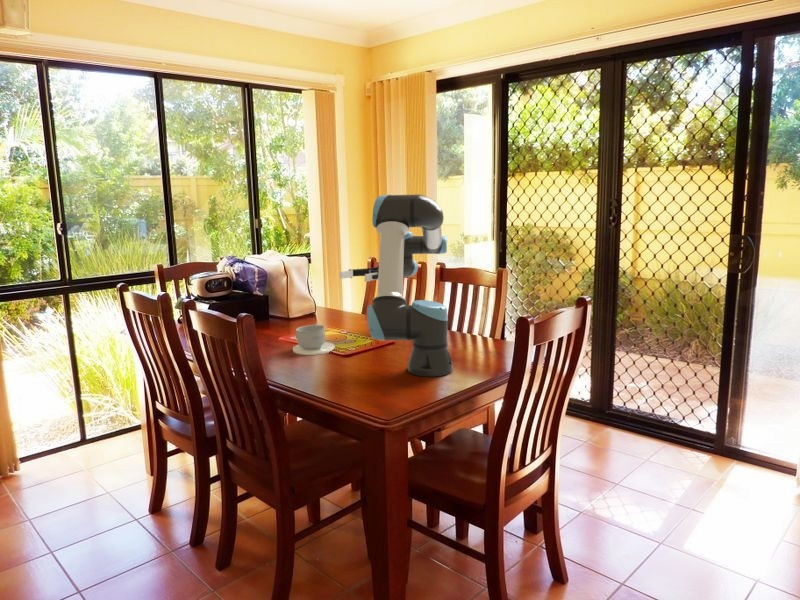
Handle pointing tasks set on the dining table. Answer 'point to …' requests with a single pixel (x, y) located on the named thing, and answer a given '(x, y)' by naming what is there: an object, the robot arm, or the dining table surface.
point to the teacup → (311, 336)
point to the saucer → (322, 350)
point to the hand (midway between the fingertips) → (352, 276)
